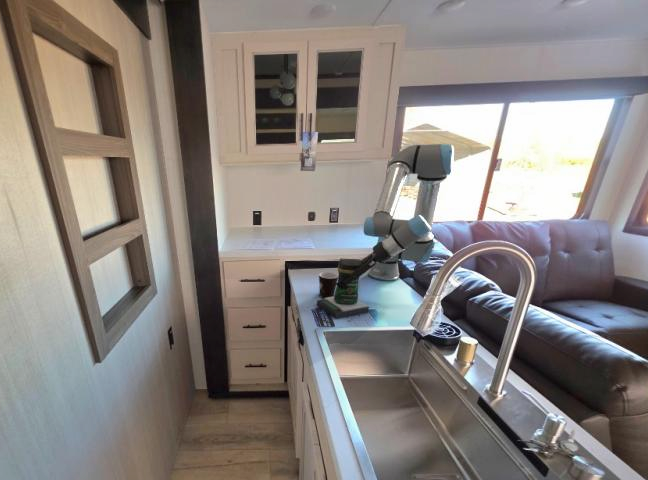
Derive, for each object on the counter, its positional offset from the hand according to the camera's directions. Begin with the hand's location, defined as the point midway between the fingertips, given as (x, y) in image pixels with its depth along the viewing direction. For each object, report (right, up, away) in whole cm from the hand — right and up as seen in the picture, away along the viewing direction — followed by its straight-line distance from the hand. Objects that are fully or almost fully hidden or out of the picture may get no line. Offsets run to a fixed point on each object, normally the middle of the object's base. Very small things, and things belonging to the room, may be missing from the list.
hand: (341, 281), depth 130 cm
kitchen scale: (+1, -11, +3) cm, 12 cm away
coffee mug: (-2, -5, +18) cm, 19 cm away
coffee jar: (+3, -8, +2) cm, 9 cm away
